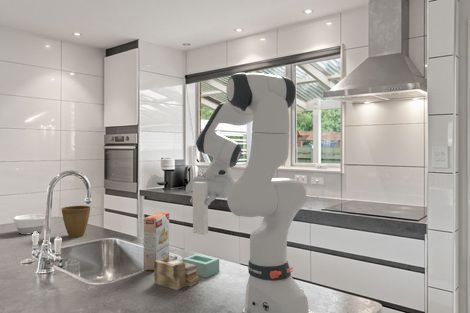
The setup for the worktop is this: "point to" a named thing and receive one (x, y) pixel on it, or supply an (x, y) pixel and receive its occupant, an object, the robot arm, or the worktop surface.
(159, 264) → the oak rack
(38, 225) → the bowl
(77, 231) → the plant pot
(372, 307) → the worktop surface
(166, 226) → the cracker box
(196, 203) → the white strip
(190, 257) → the teal holder
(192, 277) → the offcut stack
